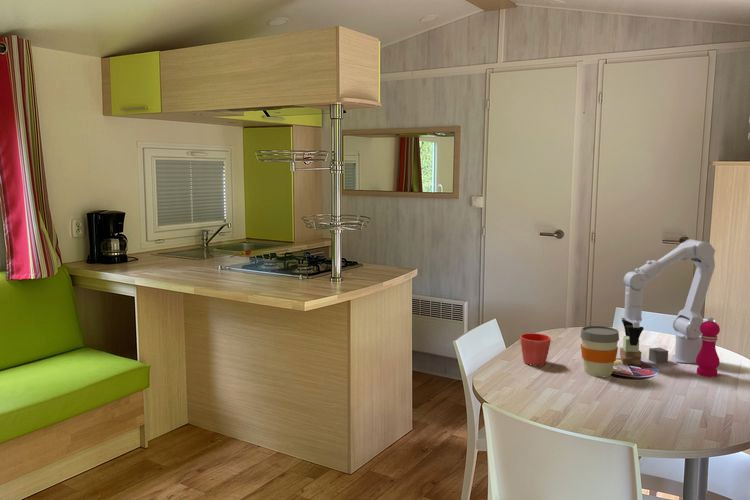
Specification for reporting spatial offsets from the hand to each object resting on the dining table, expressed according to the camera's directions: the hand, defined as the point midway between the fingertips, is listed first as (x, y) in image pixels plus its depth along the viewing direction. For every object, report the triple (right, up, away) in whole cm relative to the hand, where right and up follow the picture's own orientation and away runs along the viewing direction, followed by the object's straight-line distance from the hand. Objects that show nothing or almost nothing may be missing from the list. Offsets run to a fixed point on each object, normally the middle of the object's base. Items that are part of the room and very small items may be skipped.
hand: (631, 342), depth 230 cm
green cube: (0, -3, 0) cm, 3 cm away
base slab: (0, -8, +1) cm, 8 cm away
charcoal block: (+10, -7, +2) cm, 13 cm away
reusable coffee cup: (-16, -9, -10) cm, 21 cm away
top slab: (0, -5, +1) cm, 5 cm away
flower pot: (-35, -8, +1) cm, 36 cm away
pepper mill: (+21, -9, -12) cm, 26 cm away
